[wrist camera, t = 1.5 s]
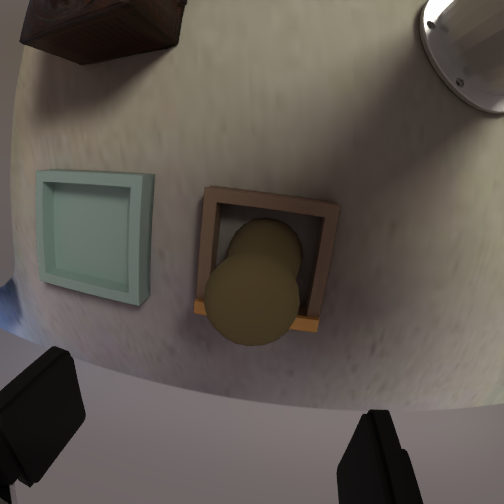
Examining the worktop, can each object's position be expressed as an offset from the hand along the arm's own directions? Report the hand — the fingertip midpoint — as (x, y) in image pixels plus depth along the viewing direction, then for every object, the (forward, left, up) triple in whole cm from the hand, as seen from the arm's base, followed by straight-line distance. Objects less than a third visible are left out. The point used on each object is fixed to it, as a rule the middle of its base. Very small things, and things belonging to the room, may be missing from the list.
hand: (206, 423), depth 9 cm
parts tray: (+16, 0, -19) cm, 24 cm away
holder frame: (0, 0, -19) cm, 19 cm away
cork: (0, 0, -19) cm, 19 cm away
